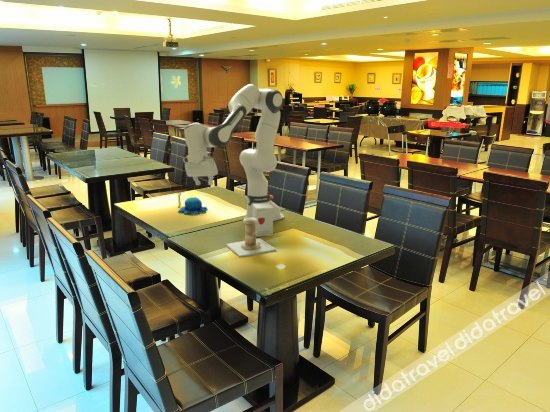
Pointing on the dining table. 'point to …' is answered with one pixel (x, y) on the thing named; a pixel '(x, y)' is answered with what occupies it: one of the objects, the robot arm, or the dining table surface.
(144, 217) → the dining table surface
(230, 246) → the grey rubber mat
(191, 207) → the plush toy
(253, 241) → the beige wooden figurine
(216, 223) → the dining table surface
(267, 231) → the supplement box
